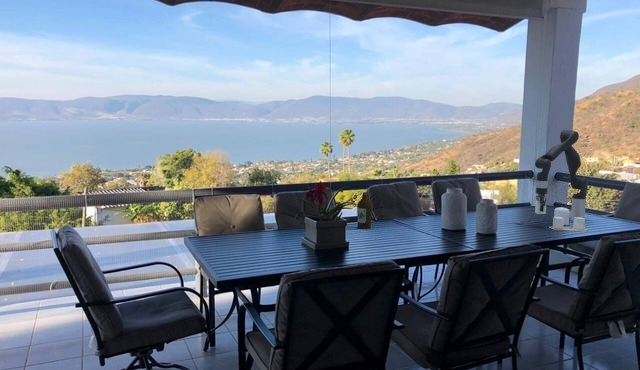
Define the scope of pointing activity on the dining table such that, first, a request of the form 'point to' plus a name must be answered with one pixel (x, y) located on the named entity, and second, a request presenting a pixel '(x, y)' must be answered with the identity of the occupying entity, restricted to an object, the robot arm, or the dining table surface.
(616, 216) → the dining table surface
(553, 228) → the metal rail
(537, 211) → the loose module
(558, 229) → the rail board
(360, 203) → the olive oil
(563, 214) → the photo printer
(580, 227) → the mounted modules
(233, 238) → the dining table surface
